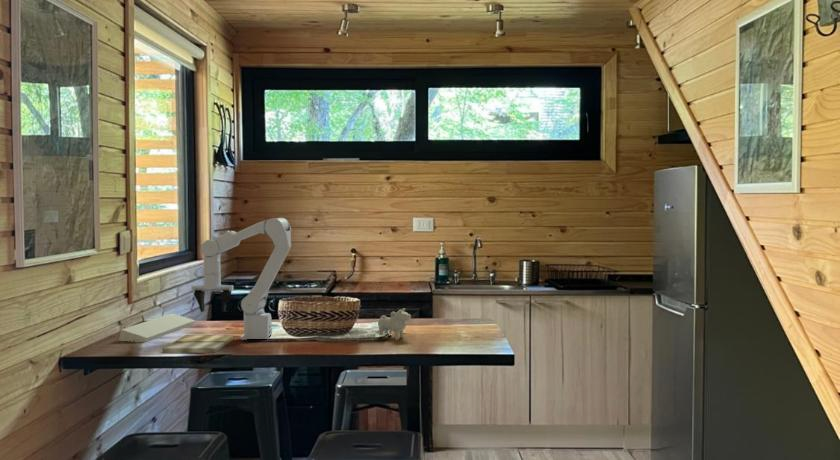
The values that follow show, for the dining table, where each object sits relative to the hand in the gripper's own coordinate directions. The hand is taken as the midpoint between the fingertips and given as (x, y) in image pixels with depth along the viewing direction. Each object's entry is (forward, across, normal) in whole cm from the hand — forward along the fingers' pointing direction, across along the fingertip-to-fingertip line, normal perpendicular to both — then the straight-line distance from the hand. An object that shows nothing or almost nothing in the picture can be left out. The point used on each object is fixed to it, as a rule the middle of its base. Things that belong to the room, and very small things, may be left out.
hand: (213, 311), depth 243 cm
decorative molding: (+10, +23, -9) cm, 27 cm away
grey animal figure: (+10, -65, +1) cm, 66 cm away
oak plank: (+9, 0, +9) cm, 13 cm away
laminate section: (+9, 0, +20) cm, 22 cm away
